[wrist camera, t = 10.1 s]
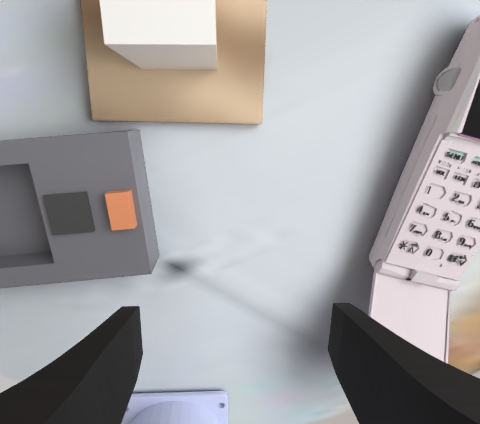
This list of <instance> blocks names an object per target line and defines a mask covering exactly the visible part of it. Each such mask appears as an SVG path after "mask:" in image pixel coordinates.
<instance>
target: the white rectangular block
mask: <svg viewBox="0 0 480 424" xmlns="http://www.w3.org/2000/svg"><path fill="white" fill-rule="evenodd" d="M100 9H101V18H102V27H103V36H104V44H105V45H106V46H108V47H109V48H111V49H113V50H114V51H116V52H117V53H119V54H120V55H122V56H123V57H125V58H126V59H128V60H129V61H131V62H132V63H134V64H135V65H137V66H138V67H140V68H141V69H143V70H217V41H216V2H215V0H100Z"/></svg>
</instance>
